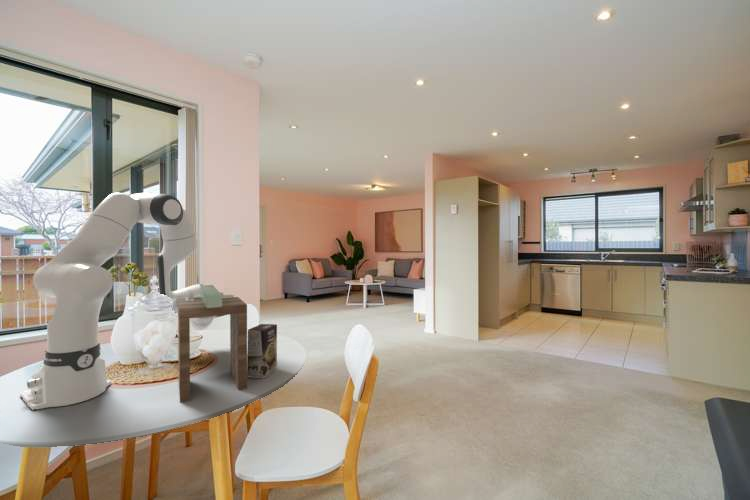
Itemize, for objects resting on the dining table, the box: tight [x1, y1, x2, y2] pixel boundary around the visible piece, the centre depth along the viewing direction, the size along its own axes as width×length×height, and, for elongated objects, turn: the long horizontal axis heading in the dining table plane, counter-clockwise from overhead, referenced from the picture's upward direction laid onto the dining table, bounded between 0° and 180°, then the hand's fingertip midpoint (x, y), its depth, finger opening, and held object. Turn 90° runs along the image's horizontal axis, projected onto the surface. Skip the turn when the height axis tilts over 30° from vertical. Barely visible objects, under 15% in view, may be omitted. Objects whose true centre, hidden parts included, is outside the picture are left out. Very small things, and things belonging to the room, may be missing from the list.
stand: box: [177, 296, 248, 403], centre depth 107 cm, size 16×18×26 cm
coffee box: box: [247, 323, 278, 380], centre depth 117 cm, size 9×6×16 cm
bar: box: [200, 284, 222, 308], centre depth 111 cm, size 26×4×4 cm, turn 31°
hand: (206, 295), depth 120 cm, fingers open, 8 cm apart
